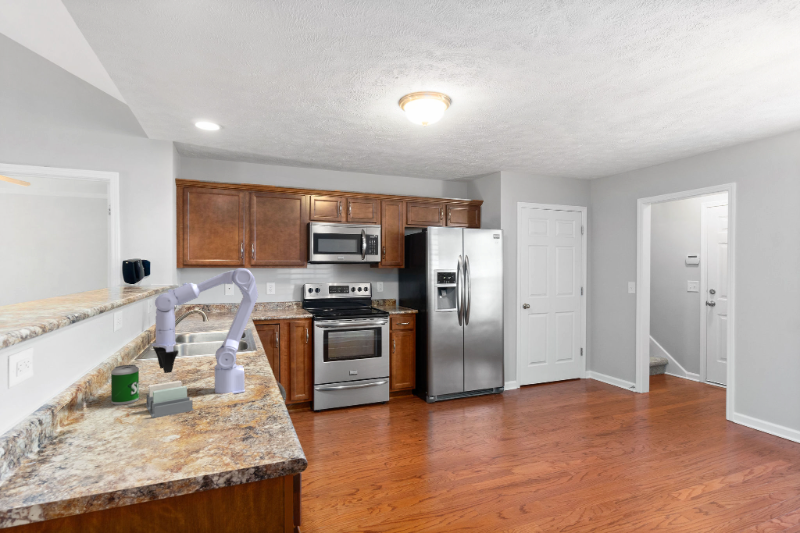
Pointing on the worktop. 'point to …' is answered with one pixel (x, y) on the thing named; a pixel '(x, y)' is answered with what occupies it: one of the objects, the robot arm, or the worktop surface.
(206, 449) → the worktop surface
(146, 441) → the worktop surface
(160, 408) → the dish rack
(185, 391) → the celadon plate
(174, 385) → the white rectangular block
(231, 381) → the robot arm
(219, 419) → the worktop surface
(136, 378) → the soda can
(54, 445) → the worktop surface
